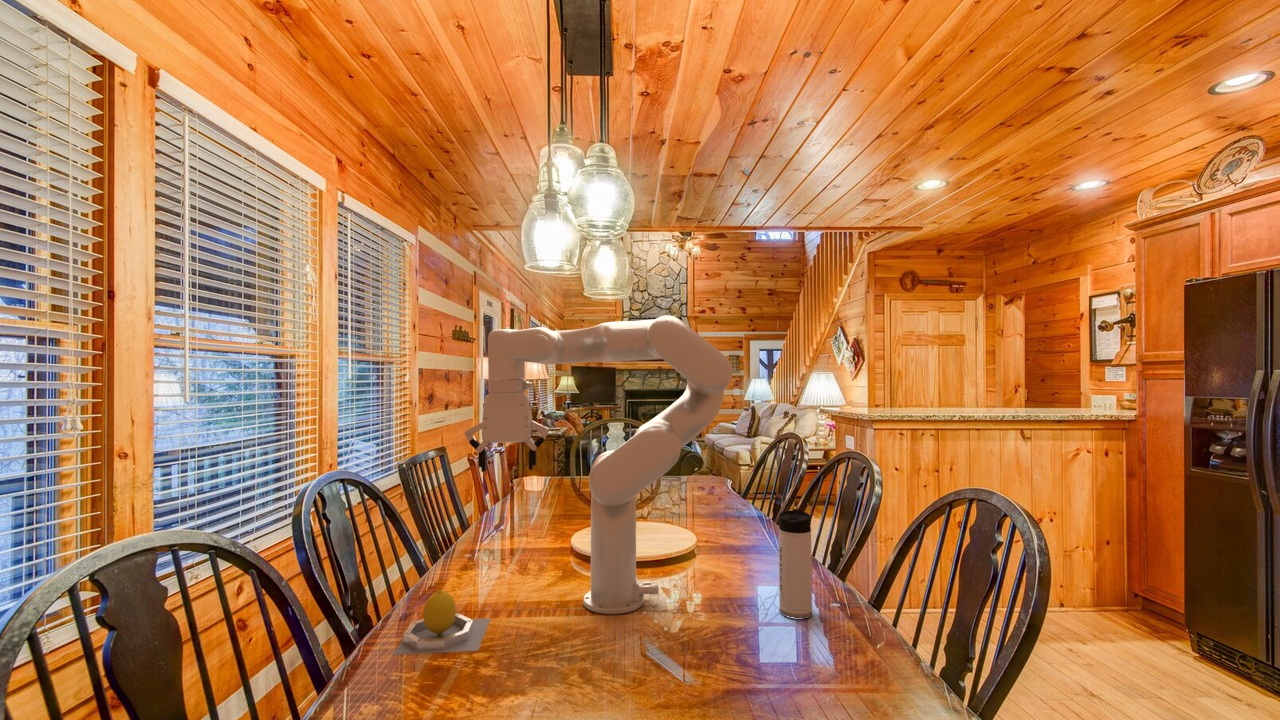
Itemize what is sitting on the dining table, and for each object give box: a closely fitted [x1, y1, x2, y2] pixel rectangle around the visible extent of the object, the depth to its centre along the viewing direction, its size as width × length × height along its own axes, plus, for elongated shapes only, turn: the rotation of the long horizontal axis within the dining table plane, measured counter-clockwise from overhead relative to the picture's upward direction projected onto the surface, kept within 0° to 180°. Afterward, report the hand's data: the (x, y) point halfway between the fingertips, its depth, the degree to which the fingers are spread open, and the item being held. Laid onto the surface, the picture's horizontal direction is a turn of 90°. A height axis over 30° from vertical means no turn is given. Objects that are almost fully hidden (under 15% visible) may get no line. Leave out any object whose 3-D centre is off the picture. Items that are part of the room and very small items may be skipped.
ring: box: [402, 613, 473, 651], centre depth 101 cm, size 11×11×2 cm
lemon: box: [422, 589, 457, 636], centre depth 102 cm, size 6×6×8 cm
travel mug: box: [778, 508, 813, 618], centre depth 113 cm, size 6×7×20 cm
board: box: [392, 617, 491, 656], centre depth 101 cm, size 14×13×1 cm
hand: (507, 469), depth 119 cm, fingers open, 9 cm apart
